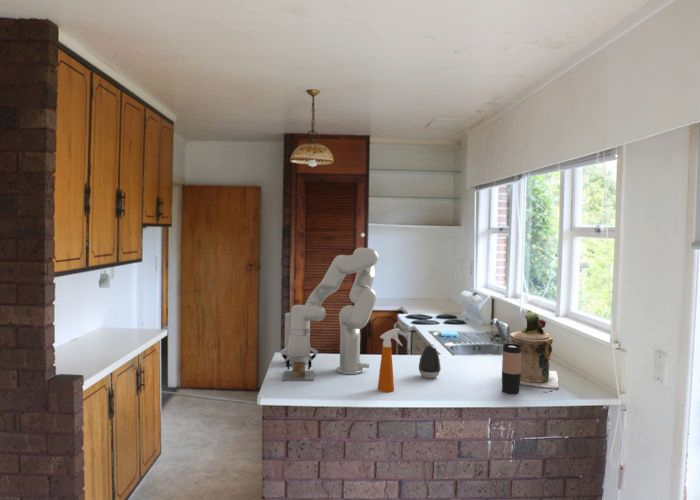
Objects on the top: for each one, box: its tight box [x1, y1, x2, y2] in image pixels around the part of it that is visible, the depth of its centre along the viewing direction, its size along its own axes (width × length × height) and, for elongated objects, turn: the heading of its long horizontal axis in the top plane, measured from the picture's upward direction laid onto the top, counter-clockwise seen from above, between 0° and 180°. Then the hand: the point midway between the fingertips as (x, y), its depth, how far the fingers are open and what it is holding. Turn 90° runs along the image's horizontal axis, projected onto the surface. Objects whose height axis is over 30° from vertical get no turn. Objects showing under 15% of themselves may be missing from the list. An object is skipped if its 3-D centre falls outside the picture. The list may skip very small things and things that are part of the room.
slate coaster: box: [281, 370, 315, 382], centre depth 238 cm, size 14×14×1 cm
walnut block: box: [292, 362, 306, 377], centre depth 238 cm, size 6×6×6 cm
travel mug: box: [501, 343, 521, 395], centre depth 222 cm, size 8×8×20 cm
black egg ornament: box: [418, 344, 441, 379], centre depth 241 cm, size 10×10×15 cm
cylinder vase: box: [284, 311, 311, 367], centre depth 261 cm, size 12×12×25 cm
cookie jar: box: [509, 309, 560, 390], centre depth 241 cm, size 25×25×32 cm
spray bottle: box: [377, 328, 403, 393], centre depth 221 cm, size 7×11×26 cm, turn 107°
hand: (298, 368), depth 238 cm, fingers open, 9 cm apart
